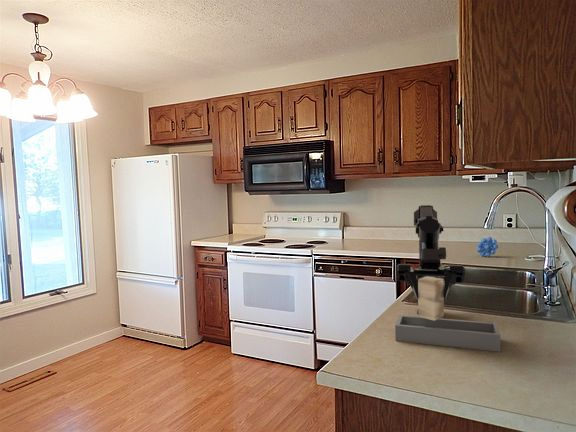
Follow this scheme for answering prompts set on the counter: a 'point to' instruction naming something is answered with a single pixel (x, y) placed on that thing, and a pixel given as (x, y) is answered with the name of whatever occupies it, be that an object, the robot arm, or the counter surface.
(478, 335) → the box
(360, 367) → the counter surface
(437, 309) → the birch block
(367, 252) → the counter surface
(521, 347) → the counter surface
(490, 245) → the grapes
